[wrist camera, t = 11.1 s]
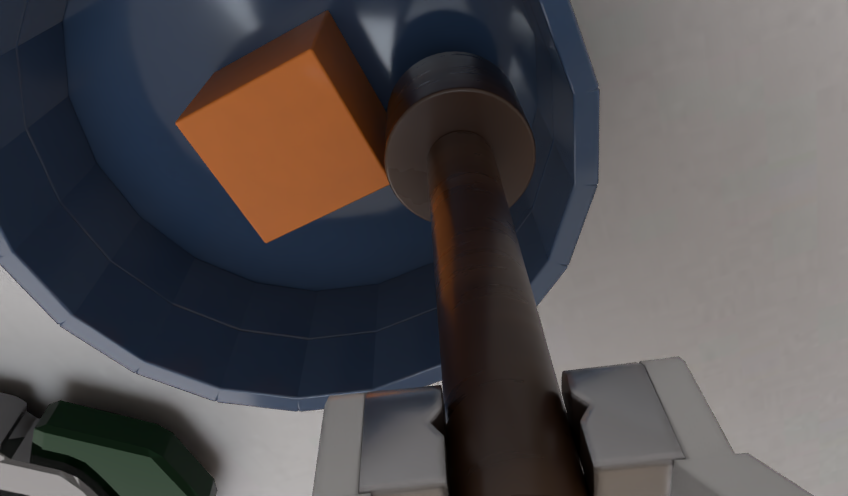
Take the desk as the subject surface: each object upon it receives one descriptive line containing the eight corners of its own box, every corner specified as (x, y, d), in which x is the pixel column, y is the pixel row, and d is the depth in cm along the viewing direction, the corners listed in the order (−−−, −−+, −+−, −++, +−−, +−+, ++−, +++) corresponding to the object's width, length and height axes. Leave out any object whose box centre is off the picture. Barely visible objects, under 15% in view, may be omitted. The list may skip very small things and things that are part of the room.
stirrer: (514, 41, 18) (815, 610, 5) (521, 167, 19) (749, 817, 7) (376, 60, 18) (309, 659, 5) (397, 183, 20) (386, 847, 7)
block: (327, 9, 19) (311, 48, 16) (395, 126, 21) (393, 183, 18) (212, 73, 20) (173, 123, 17) (286, 180, 22) (265, 244, 19)
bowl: (544, -240, 17) (605, -270, 12) (557, 267, 25) (596, 381, 20) (-44, -151, 17) (-229, -143, 12) (153, 313, 25) (89, 435, 20)
